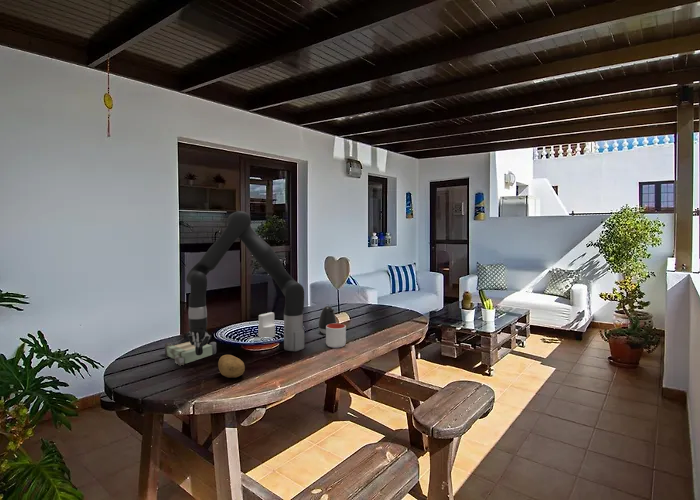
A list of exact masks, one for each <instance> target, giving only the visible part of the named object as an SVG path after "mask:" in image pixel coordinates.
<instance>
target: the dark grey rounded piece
mask: <svg viewBox="0 0 700 500" xmlns="http://www.w3.org/2000/svg"><path fill="white" fill-rule="evenodd" d="M333 323H337V319H336V314H335V310H334V308H332V306H329V305H327V306H324V307H323V308H322V309H321V312H320V315H319V319H318V329H319V331H320V332H321V334H324V335H326V325H328V324H333Z"/></svg>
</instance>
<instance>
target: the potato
mask: <svg viewBox="0 0 700 500" xmlns="http://www.w3.org/2000/svg"><path fill="white" fill-rule="evenodd" d="M217 366H218V367H217V368H218V370H219V373H220V374H221V375H222V376H224V377H225V378H228V379H229V378H234V379H235V378H236V379H237V378H239V377H240V376H242V375H243V374H244V372H245V369H246V366H245V363H244V361H243V360H241V359H240V358H238V357H236V356H234V355H232V354H224V355H222V356H220V358H219V360H218V362H217Z"/></svg>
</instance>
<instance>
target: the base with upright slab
mask: <svg viewBox="0 0 700 500" xmlns="http://www.w3.org/2000/svg"><path fill="white" fill-rule="evenodd" d="M257 326H258V328H257V329H258V331H257V333H258V335H257V336H259V337H258V338H260V337H272V338H274V337H276V324H275V312H272V311H270V312H267V313H266V312H265V313H261V314H259V315H258V325H257ZM273 336H274V337H273Z"/></svg>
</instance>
